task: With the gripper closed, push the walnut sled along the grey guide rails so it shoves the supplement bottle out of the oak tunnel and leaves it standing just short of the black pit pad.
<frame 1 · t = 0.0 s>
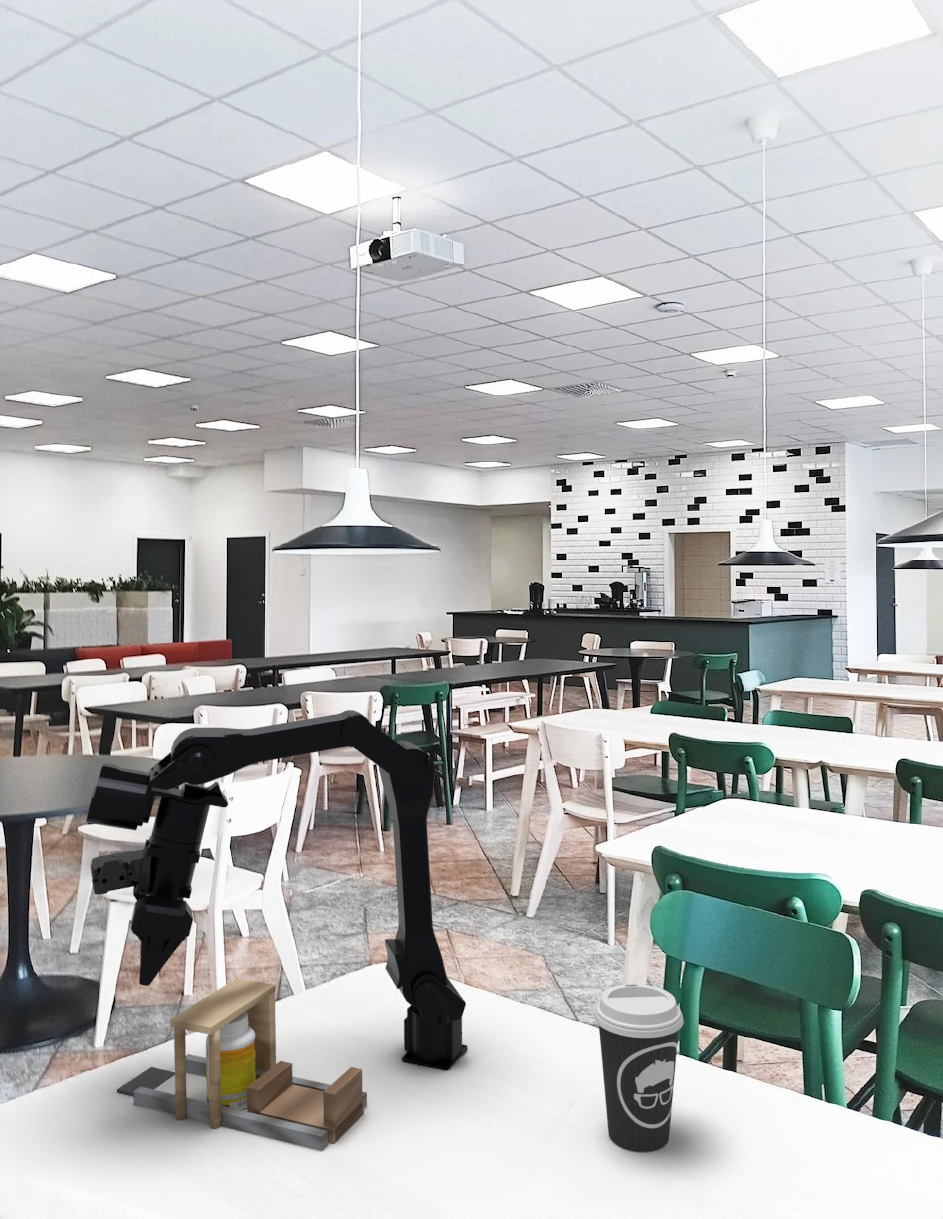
hand: (144, 969, 118), 15 cm above the table, tool pointing down, fingers open, 9 cm apart
sled: (305, 1095, 114), point 3 cm above the table, slide at 0.0 cm
pit pad: (147, 1083, 123), on the table
tunnel track: (231, 1103, 118), on the table
supplement bottle: (231, 1105, 118), on the table
coffee cup: (638, 1136, 111), on the table
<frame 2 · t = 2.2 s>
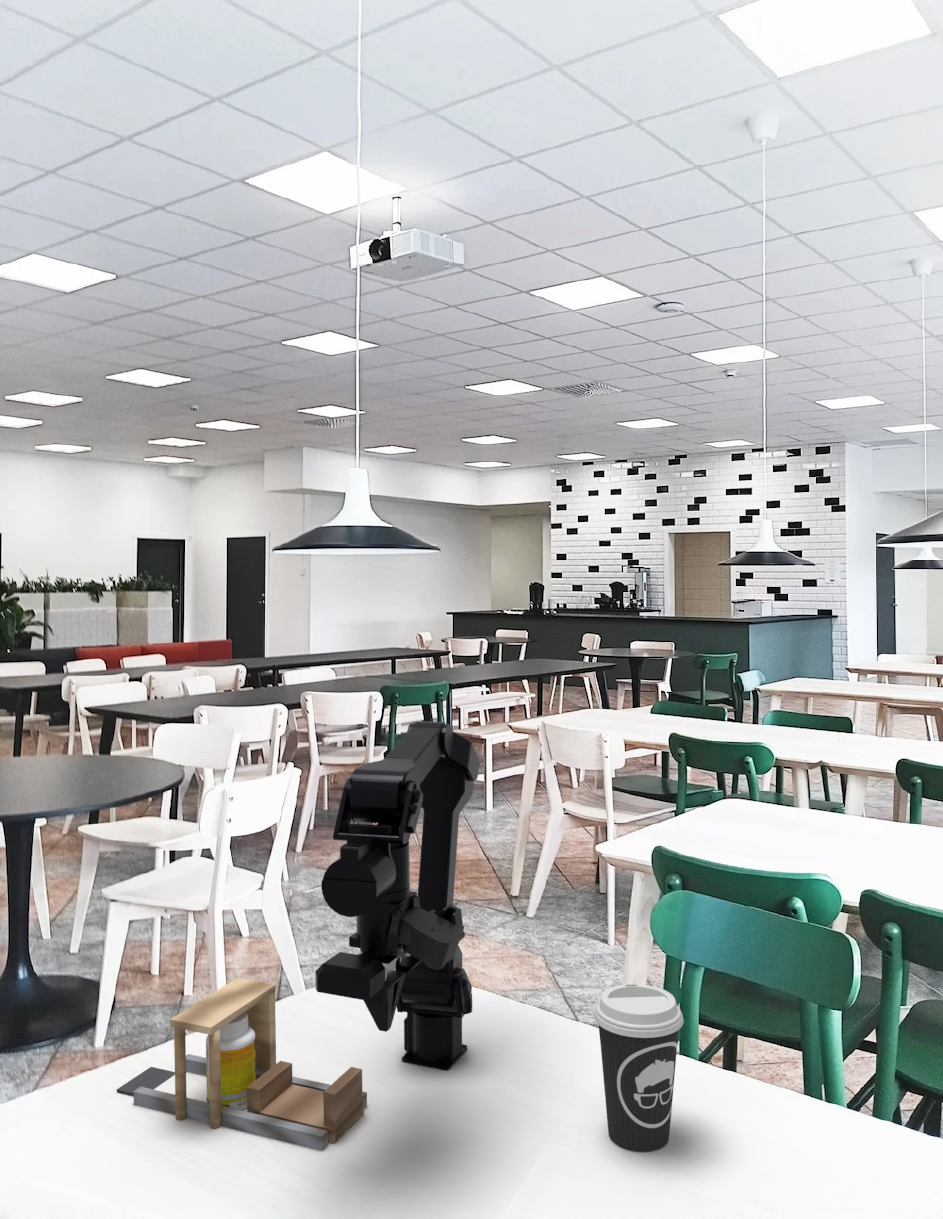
hand: (384, 1029, 110), 12 cm above the table, tool pointing down, fingers closed
nothing on the table moved.
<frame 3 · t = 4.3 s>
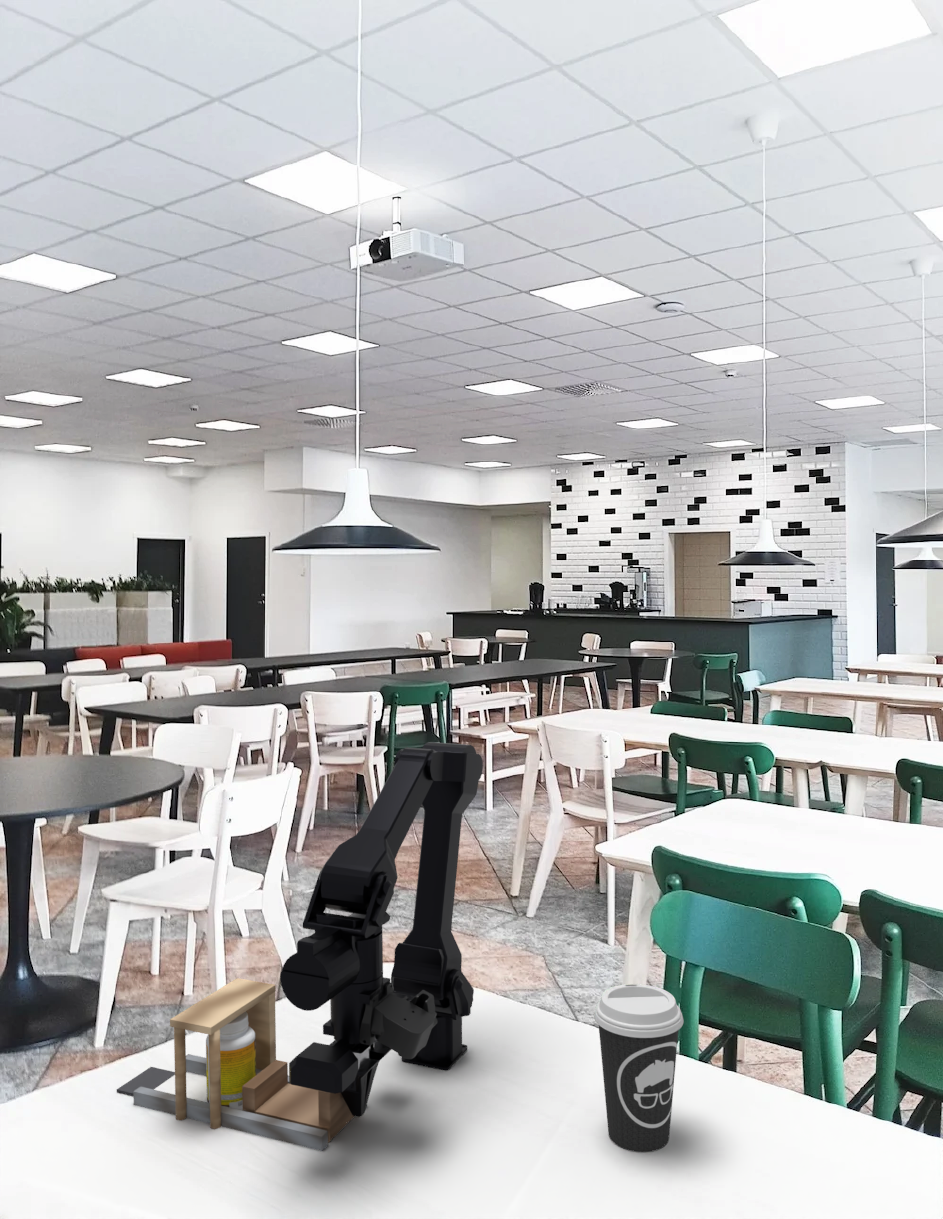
hand: (358, 1114, 111), 2 cm above the table, tool pointing down, fingers closed
sled: (301, 1093, 114), point 3 cm above the table, slide at 0.6 cm, touching gripper
everything else where it was.
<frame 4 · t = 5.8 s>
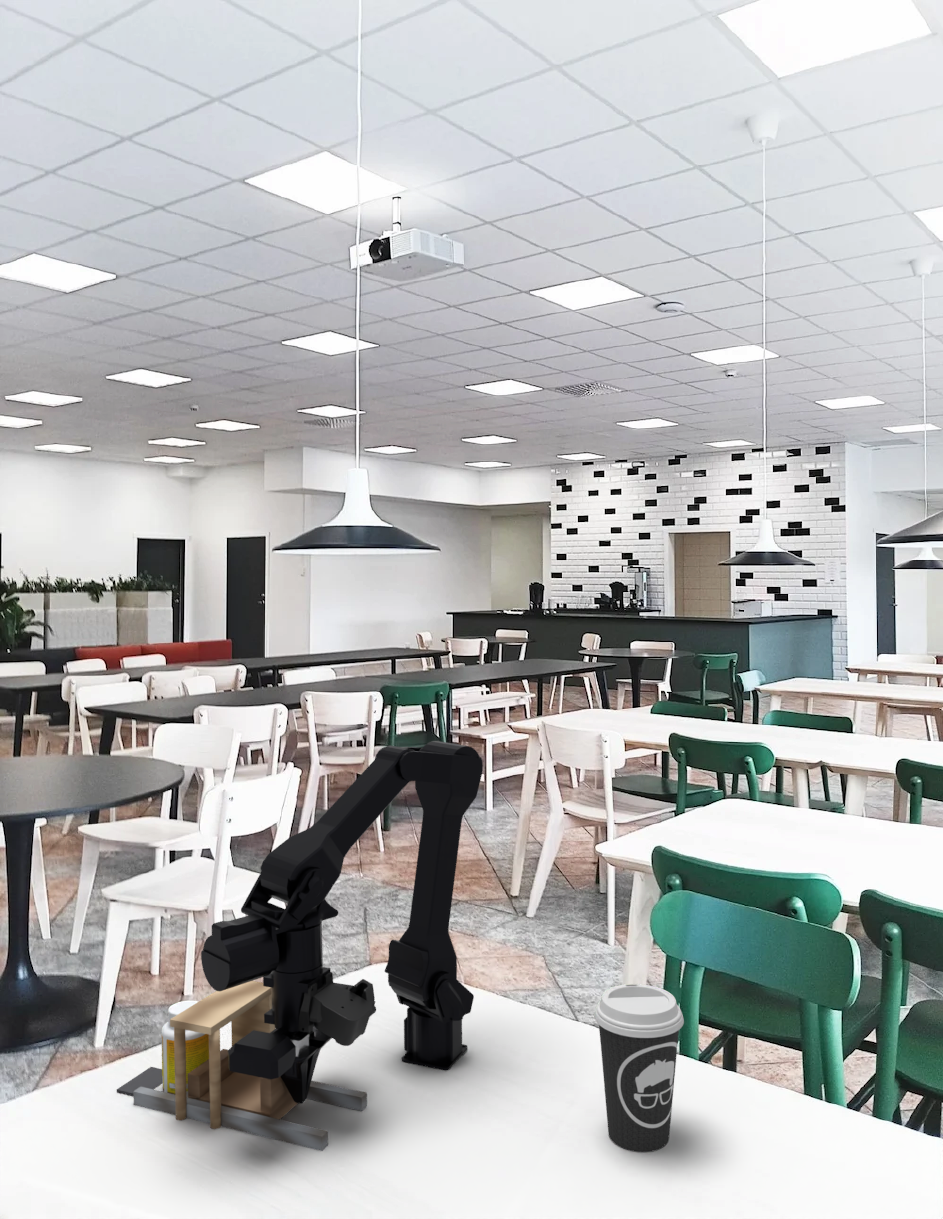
hand: (300, 1101, 114), 2 cm above the table, tool pointing down, fingers closed, pressing on sled
sled: (245, 1081, 117), point 3 cm above the table, slide at 8.1 cm, touching supplement bottle, gripper
supplement bottle: (187, 1094, 120), on the table, touching sled
everything else where it was.
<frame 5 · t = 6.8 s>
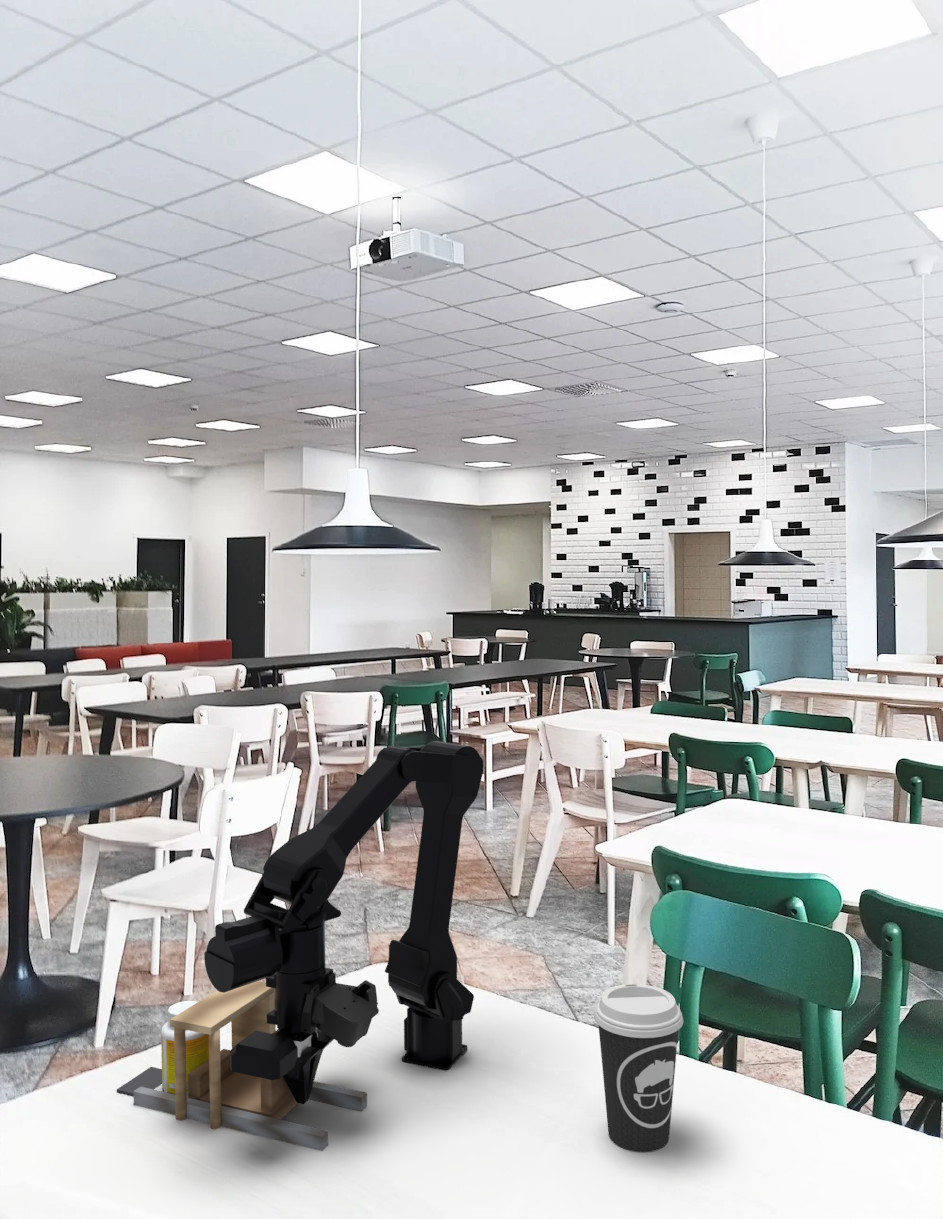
hand: (302, 1102, 114), 2 cm above the table, tool pointing down, fingers closed
sled: (245, 1081, 117), point 3 cm above the table, slide at 8.0 cm
supplement bottle: (187, 1094, 120), on the table
everything else where it was.
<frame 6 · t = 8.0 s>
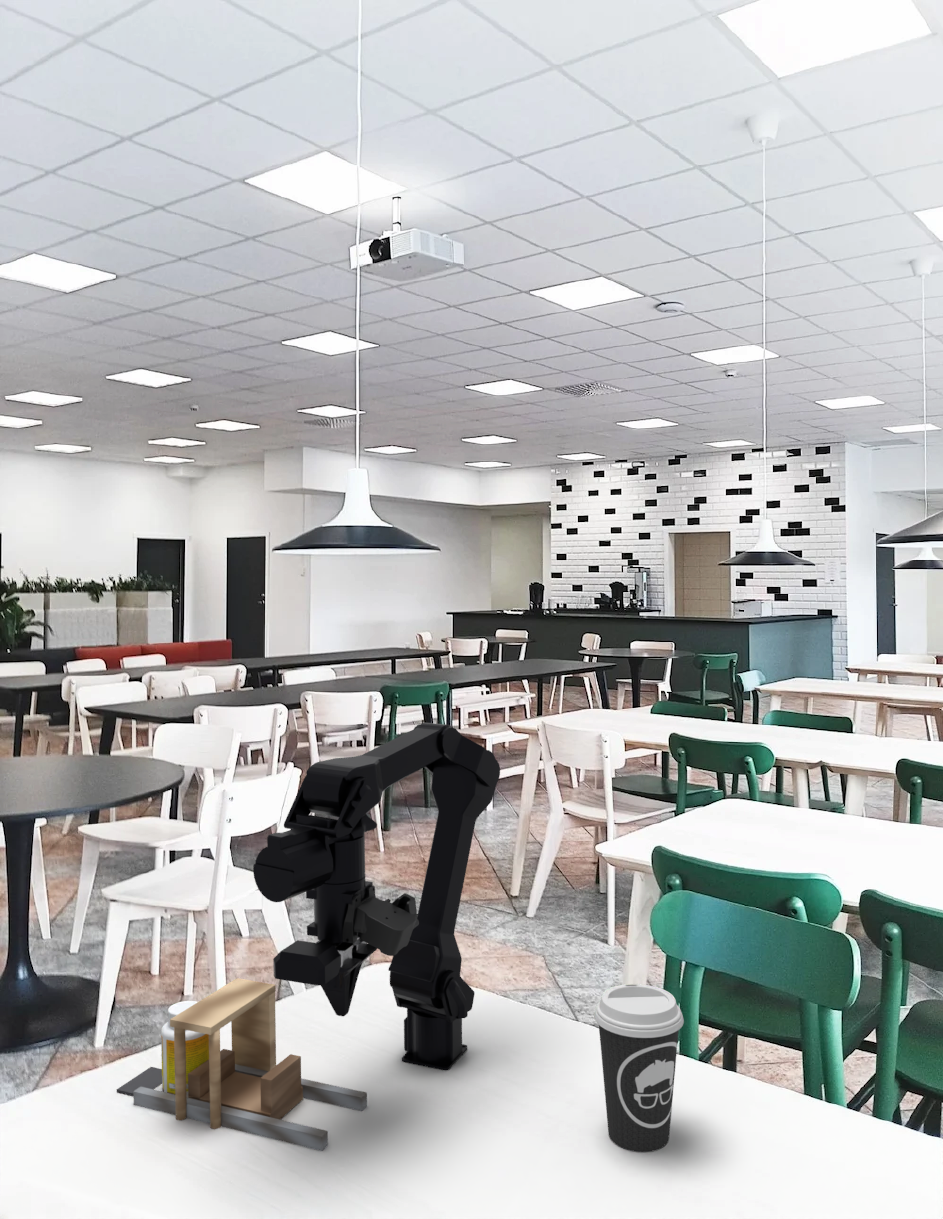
hand: (342, 1014, 114), 12 cm above the table, tool pointing down, fingers closed
nothing on the table moved.
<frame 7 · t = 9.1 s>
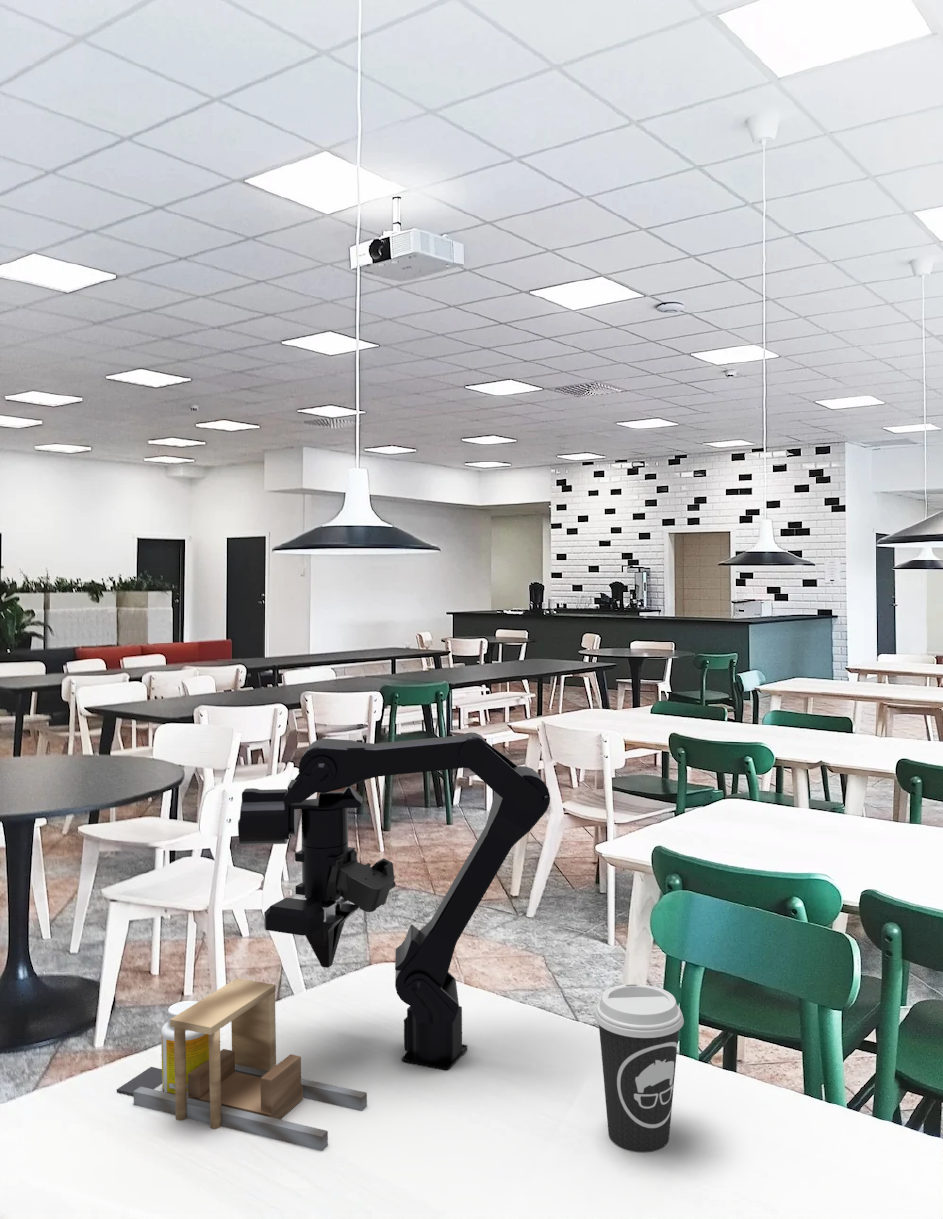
hand: (326, 966, 127), 12 cm above the table, tool pointing down, fingers closed
nothing on the table moved.
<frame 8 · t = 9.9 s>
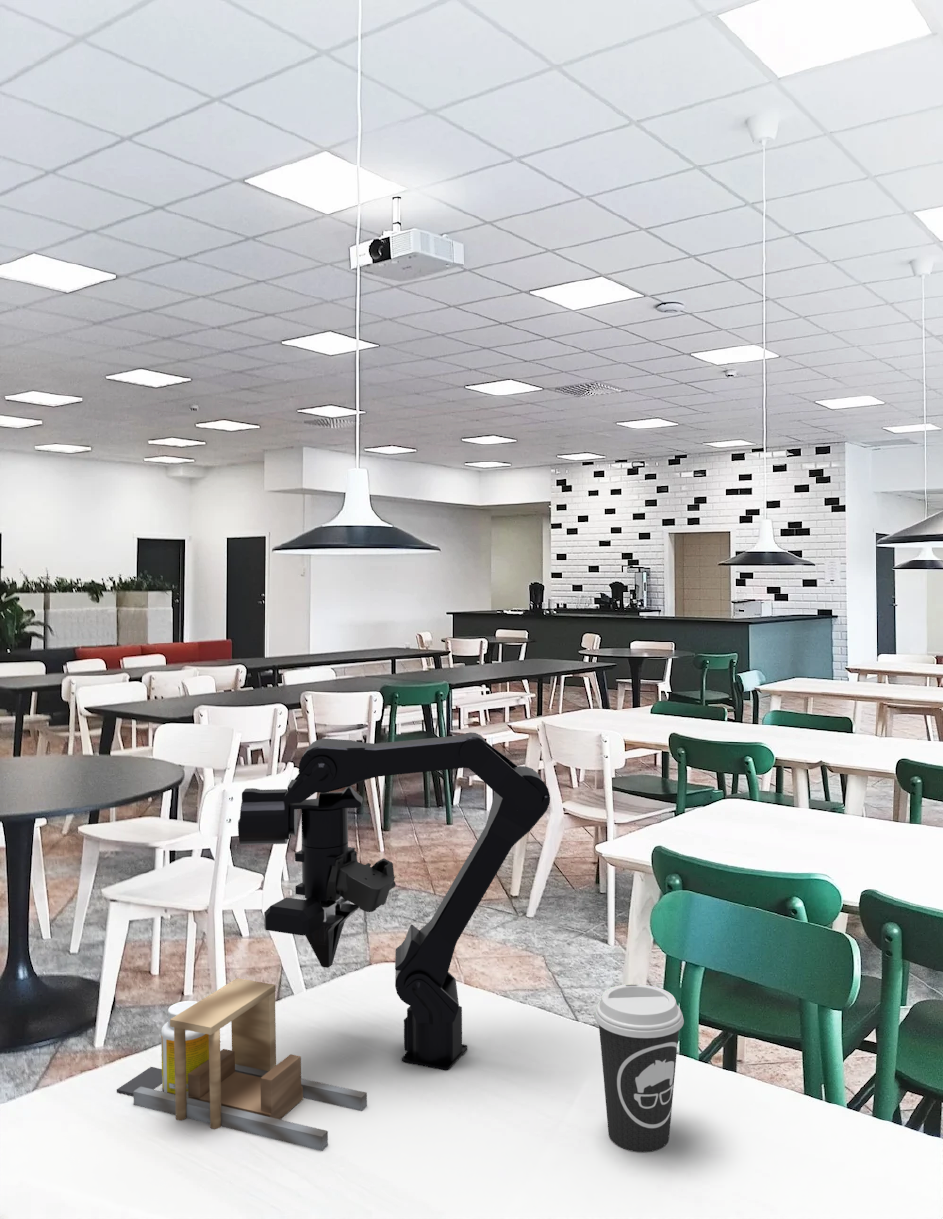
hand: (326, 966, 127), 12 cm above the table, tool pointing down, fingers closed
nothing on the table moved.
at the end: supplement bottle inside the target area (0.9 cm from its centre), on the table; supplement bottle tilted 0°; sled slide at 8.0 cm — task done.
